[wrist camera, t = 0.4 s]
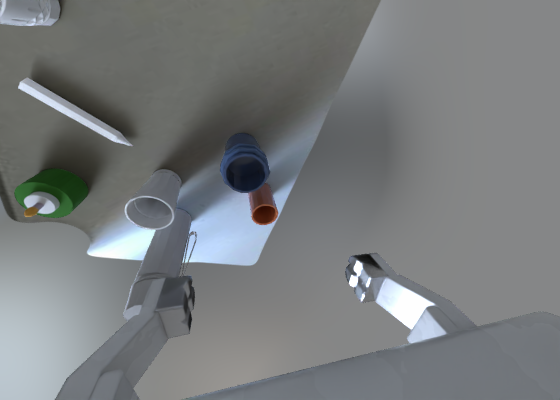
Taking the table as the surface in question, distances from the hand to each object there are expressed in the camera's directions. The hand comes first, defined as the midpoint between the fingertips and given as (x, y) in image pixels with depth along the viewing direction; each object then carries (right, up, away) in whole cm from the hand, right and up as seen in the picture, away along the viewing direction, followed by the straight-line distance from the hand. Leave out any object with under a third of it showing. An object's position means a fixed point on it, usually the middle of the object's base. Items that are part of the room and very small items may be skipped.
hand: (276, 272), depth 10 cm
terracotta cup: (-5, +6, +43) cm, 44 cm away
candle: (-46, +7, +33) cm, 57 cm away
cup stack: (-8, +15, +36) cm, 40 cm away
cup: (-26, +8, +37) cm, 46 cm away
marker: (-35, +19, +27) cm, 48 cm away
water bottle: (-26, -1, +43) cm, 50 cm away
